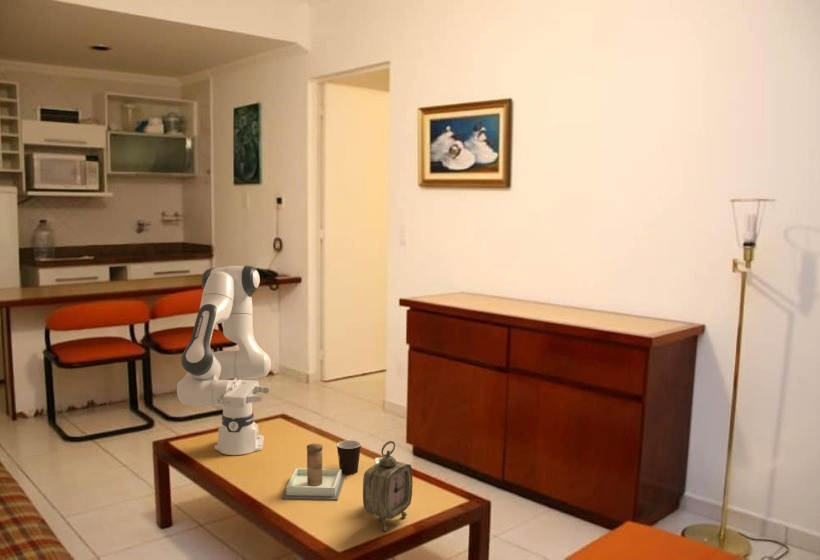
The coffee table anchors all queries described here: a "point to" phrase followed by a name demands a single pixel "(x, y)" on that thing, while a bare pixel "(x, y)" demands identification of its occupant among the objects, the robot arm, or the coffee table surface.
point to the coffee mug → (349, 456)
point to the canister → (314, 464)
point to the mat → (303, 497)
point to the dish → (301, 487)
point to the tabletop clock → (387, 487)
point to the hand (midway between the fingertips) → (265, 394)
